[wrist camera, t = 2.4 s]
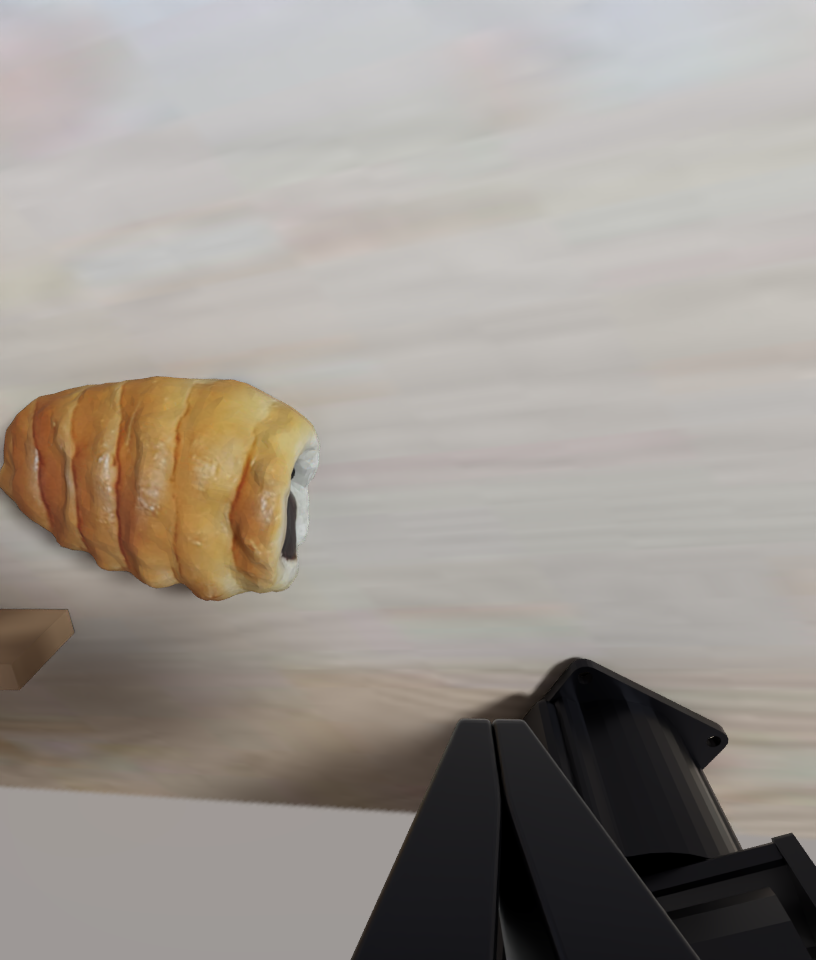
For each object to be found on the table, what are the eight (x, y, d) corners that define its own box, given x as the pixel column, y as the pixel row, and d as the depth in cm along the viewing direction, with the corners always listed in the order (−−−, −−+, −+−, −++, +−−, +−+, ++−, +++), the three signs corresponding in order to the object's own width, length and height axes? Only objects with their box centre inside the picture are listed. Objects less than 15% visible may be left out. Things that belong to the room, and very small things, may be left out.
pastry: (43, 534, 20) (-41, 594, 17) (26, 338, 18) (-77, 358, 14) (311, 576, 20) (284, 644, 17) (330, 385, 18) (303, 417, 14)
